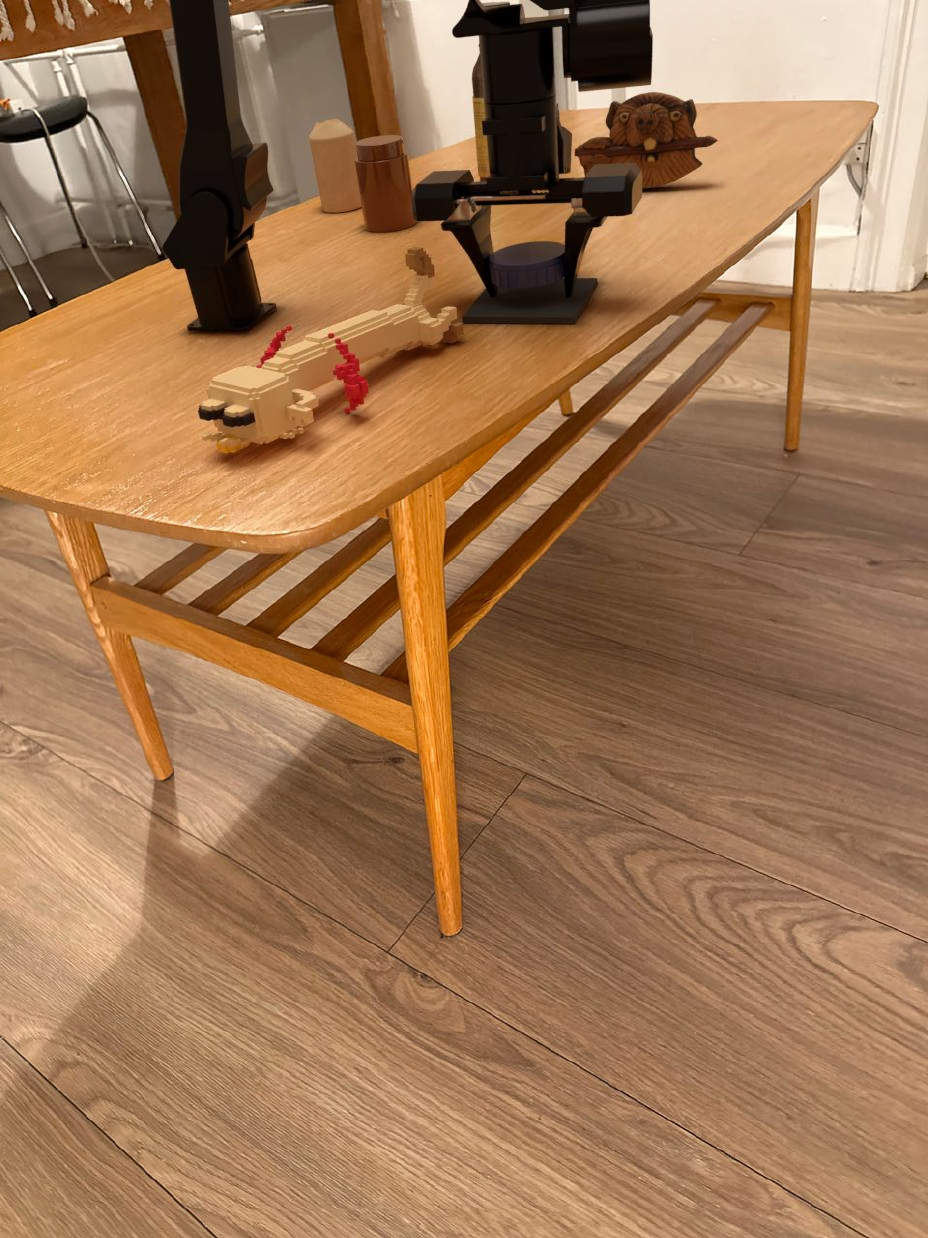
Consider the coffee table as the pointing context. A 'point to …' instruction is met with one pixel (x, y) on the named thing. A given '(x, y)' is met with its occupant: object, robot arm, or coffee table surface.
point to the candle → (335, 165)
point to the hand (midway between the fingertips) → (531, 295)
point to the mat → (532, 304)
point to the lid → (528, 265)
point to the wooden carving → (648, 138)
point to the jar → (384, 183)
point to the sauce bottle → (481, 112)
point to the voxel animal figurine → (320, 366)
